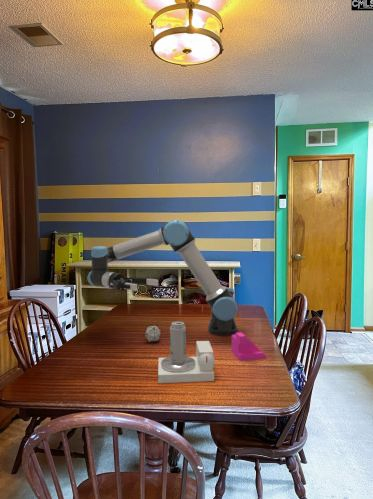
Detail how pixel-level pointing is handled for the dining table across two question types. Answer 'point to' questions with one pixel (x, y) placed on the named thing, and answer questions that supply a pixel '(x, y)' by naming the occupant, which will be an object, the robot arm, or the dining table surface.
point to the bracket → (245, 348)
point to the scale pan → (184, 367)
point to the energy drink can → (177, 343)
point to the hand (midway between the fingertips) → (147, 285)
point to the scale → (198, 373)
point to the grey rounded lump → (152, 333)
